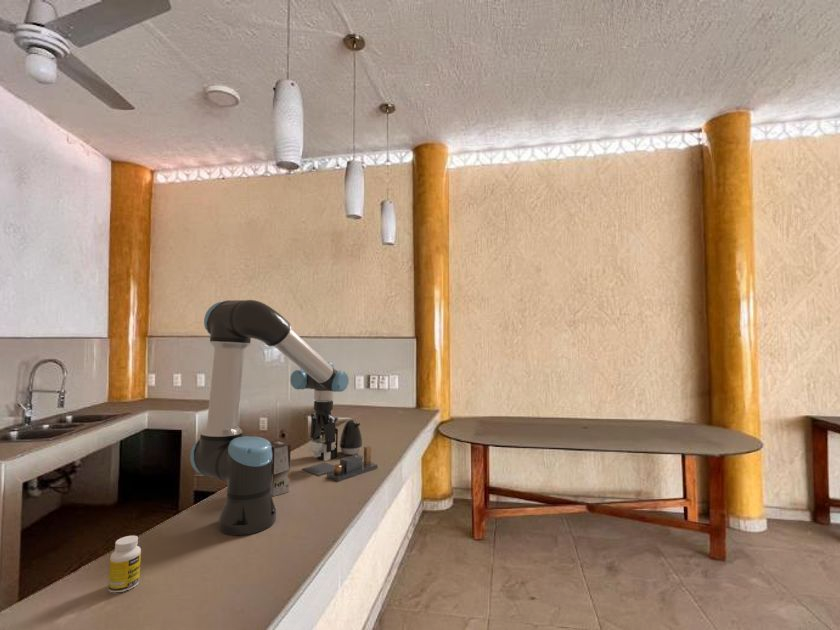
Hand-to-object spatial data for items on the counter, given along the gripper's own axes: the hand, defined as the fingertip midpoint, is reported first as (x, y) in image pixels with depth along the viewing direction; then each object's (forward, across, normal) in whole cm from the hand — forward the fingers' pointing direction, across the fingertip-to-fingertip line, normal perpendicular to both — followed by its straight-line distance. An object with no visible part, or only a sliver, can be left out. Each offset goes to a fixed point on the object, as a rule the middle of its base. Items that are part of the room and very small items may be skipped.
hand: (322, 458), depth 163 cm
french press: (+5, +12, -11) cm, 17 cm away
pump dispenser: (+5, +8, -22) cm, 24 cm away
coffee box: (+5, -6, +24) cm, 25 cm away
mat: (+4, 0, 0) cm, 4 cm away
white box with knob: (-3, 0, 0) cm, 3 cm away
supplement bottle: (+4, -30, +74) cm, 80 cm away
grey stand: (+4, -12, -6) cm, 14 cm away
